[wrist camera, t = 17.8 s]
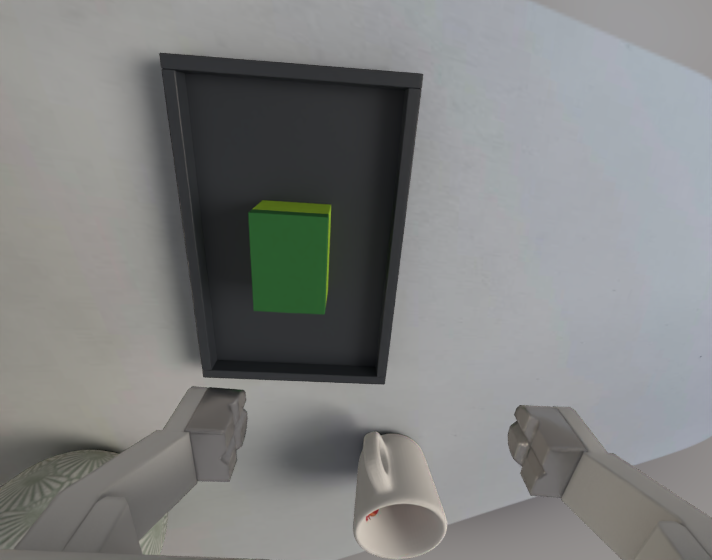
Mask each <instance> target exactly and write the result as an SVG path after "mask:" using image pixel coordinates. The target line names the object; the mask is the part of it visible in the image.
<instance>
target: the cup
mask: <svg viewBox="0 0 712 560" xmlns="http://www.w3.org/2000/svg"><path fill="white" fill-rule="evenodd" d="M446 530H447V520H446V516H445V513H444V510H443V507H442V504H441V502H440V499H439V496H438V493H437V490H436V487H435V485H434V482H433V479H432V476H431V473H430V470H429V468H428V465H427V462H426V459H425V457H424V454H423V452H422V450H421V449H420V447H419V446H418V444H417V443H416V442H415V441H413V440H412V439H410V438H409V437H407V436H404V435H400V434H385V435H381V436H380V434H379V433H378V432H375V431H374V432H370V433H368V434H366V435H365V437H364V441H363V450H362V452H361V455H360V458H359V464H358V474H357V486H356V498H355V510H354V521H353V532H354V537H355V539H356V541H357V543H358V544H359V545H360V546H361V547H362V548H363V549H364V550H365V551H367V552H369V553H371V554H373V555H375V556H378V557H382V558H387V559H406V558H412V557H416V556H419V555H422V554H425V553H427V552H429V551H431V550H432V549H433V548H434V547H436V546H437V545H438V544H439V543H440V542H441V541H442V540H443V538H444V536H445V534H446Z"/></svg>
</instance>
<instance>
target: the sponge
mask: <svg viewBox="0 0 712 560" xmlns="http://www.w3.org/2000/svg"><path fill="white" fill-rule="evenodd" d="M248 221H249V239H250V257H251V275H252V293H253V310H254V311H263V312H283V313H302V314H322V315H324V314H325V308H326V301H327V293H328V273H329V248H330V223H331V205H329V204H314V203H298V202H283V201H267V200H262V201H261V202H260V203H259V204H258V205H256V206H255V207H254V208H253V209H252V210H251V211H249V212H248Z"/></svg>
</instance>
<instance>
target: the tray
mask: <svg viewBox="0 0 712 560" xmlns="http://www.w3.org/2000/svg"><path fill="white" fill-rule="evenodd" d="M159 55H160V62H161V68H162V76H163V83H164V90H165V98H166V105H167V113H168V120H169V127H170V135H171V142H172V150H173V157H174V164H175V172H176V179H177V186H178V194H179V201H180V209H181V216H182V223H183V231H184V238H185V245H186V253H187V260H188V268H189V275H190V282H191V290H192V297H193V305H194V312H195V319H196V327H197V334H198V341H199V349H200V356H201V364H202V371H203V377H208V378H234V379H259V380H284V381H309V382H334V383H360V384H385V377H386V370H387V362H388V354H389V346H390V338H391V330H392V322H393V314H394V306H395V298H396V290H397V282H398V274H399V266H400V258H401V250H402V242H403V234H404V226H405V218H406V210H407V201H408V193H409V185H410V177H411V169H412V161H413V153H414V145H415V137H416V129H417V121H418V113H419V105H420V97H421V88H422V81H423V74H420V73H407V72H395V71H382V70H369V69H357V68H344V67H332V66H319V65H307V64H294V63H281V62H269V61H256V60H244V59H231V58H219V57H206V56H193V55H181V54H168V53H160V54H159ZM262 200H267V201H283V202H298V203H314V204H329V205H331V223H330V248H329V273H328V293H327V301H326V308H325V314H324V315H322V314H302V313H283V312H263V311H254V310H253V293H252V275H251V257H250V239H249V221H248V212H249V211H251V210H252V209H253V208H254V207H255V206H256V205H258V204H259V203H260V202H261V201H262Z"/></svg>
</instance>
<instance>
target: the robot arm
mask: <svg viewBox="0 0 712 560" xmlns="http://www.w3.org/2000/svg"><path fill="white" fill-rule="evenodd" d="M245 402H246V393H245V391H244V390H237V389H225V388H212V387H210V388H207V387H195V386H192V387H191V388H190V389H188V390H187V392H186V394H185V395H184V397H183V398H182V400H181V401H180V403H179V405H178V406H177V408H176V409H175V411H174V413H173V414H172V416H171V417H170V419H169V421H168V422H167V424H166V425H165V427H164V428H163V430H156V431H155V432H153V433H152V434H150V435H148V436H147V437H145V438H144V439H142V440H141V441H139V442H137V443H136V444H134V445H133V446H131V447H130V448H128V449H126V450H125V451H123V452H122V453H120V454H118V455H117V456H115V457H114V458H112V459H111V460H109V461H107V462H106V463H104V464H103V465H101V466H100V467H98V468H96V469H95V470H93V471H92V472H90V473H89V474H87V475H85V476H84V477H82V478H81V479H79V480H77V481H76V482H74V483H73V484H71V485H70V486H68V487H66V488H65V489H63V490H62V491H60V492H59V493H58V494H57V495H56V497H55V498H54V499H53V500H52V501H51V503H50V504H49V505H48V506H47V508H46V509H45V510H44V511H43V513H42V514H41V515H40V516H39V518H38V519H37V520H36V521H35V523H34V524H33V525H32V526H31V528H30V529H29V530H28V531H27V533H26V534H25V535H24V536H23V538H22V539H21V540H20V541H19V542H18V544H17V545H16V546H15V547H14V549H13V550H12V549H0V560H268V559H242V558H216V557H190V556H165V555H143V554H142V550H141V547H140V543H139V540H140V539H141V538H142V537H143V536H144V535H145V534H146V533H147V532H148V531H149V530H150V529H151V528H152V527H153V526H154V525H155V524H156V523H157V522H158V521H159V520H160V519H161V518H162V517H163V516H164V515H165V514H166V513H167V512H168V511H169V510H171V509H172V508H173V507H174V506H175V505H176V504H177V503H178V502H179V501H180V500H181V499H182V498H183V497H184V496H185V495H186V494H187V493H188V492H189V491H190V490H191V489H192V488H193V487H194V486H195V485H196V484H197V481H217V482H229V481H230V479H231V476H232V473H233V470H234V467H235V464H236V462H237V452H236V450H238V449H239V448H240V447H241V446H242V444H243V441H244V438H245V434H246V429H247V411H246V410H245V409H244V405H245ZM514 416H515V417H516V419H517V421H516V422H515V423H513V424H512V425H511V426H510V429H509V432H508V446H509V450H510V453H511V455H512V457H513V459H514V460H515V461H516V462H517V463H518V464H520V465H521V466H522V469H521V472H520V474H521V476H522V478H523V480H524V482H525V484H526V487H527V489H528V491H529V493H530V495H531V496H543V497H556V498H561V500H562V501H563V502H564V503H565V504H566V505H567V506H568V507H569V508H570V509H571V510H572V511H573V512H574V513H575V514H576V515H577V516H578V517H579V518H580V519H581V520H582V521H583V522H584V523H585V524H586V525H587V526H588V527H589V528H590V529H591V530H592V531H593V532H594V533H595V534H596V535H597V536H598V537H599V538H600V539H601V540H602V541H604V543H606V545H607V546H608V547H610V548H611V549H612V550H613V551H614V552H615V553H616V554H617V555H618V556H619V557H620V558H621V559H622V560H712V518H711V517H710V516H708V515H707V514H705V513H704V512H702V511H701V510H699V509H697V508H696V507H694V506H693V505H691V504H690V503H688V502H687V501H685V500H684V499H682V498H680V497H679V496H677V495H676V494H674V493H673V492H672V491H670V490H668V489H667V488H665V487H663V486H662V485H661V484H659V483H658V482H656V481H654V480H653V479H652V478H650V477H649V476H647V475H646V474H644V473H643V472H641V471H639V470H638V469H636V468H635V467H633V466H632V465H630V464H629V463H627V462H626V461H624V460H623V459H621V458H620V457H618V456H617V455H615V454H614V453H608V452H607V451H606V450H605V449H604V447H603V446H602V445H601V443H600V442H599V441H598V440H597V438H596V437H595V436H594V434H593V433H592V432H591V430H590V429H589V428H588V427H587V425H586V424H585V423H584V421H583V420H582V419H581V418H580V416H579V415H578V414H577V412H576V411H575V410H574V409H572V408H571V407H555V406H553V407H550V406H529V405H519V406H518V407H517V408H516V411H515V414H514Z"/></svg>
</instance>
